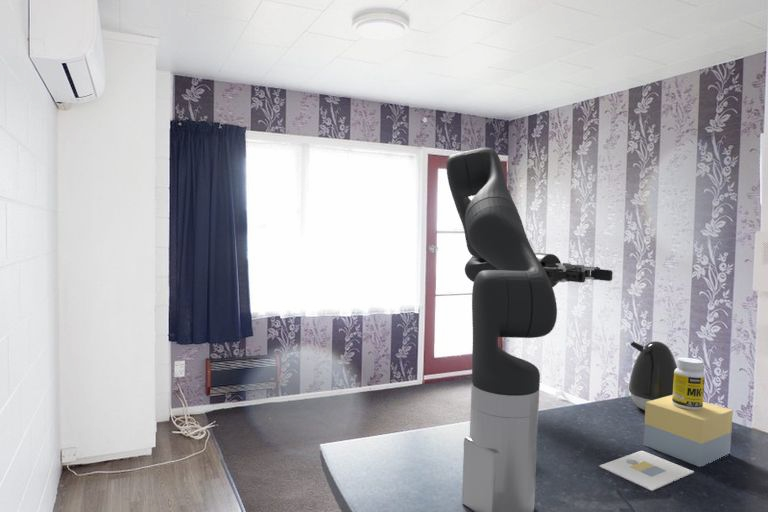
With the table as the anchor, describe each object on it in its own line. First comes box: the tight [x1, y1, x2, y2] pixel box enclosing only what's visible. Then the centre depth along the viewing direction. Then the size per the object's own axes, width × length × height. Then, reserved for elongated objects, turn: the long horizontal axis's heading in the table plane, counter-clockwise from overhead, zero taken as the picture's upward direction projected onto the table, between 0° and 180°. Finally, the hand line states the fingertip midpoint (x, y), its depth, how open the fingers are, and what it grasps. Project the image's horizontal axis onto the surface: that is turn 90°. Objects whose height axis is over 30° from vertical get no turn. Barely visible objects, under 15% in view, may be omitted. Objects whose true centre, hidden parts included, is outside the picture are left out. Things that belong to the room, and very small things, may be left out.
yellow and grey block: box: [643, 395, 734, 468], centre depth 93 cm, size 10×10×8 cm
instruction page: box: [599, 450, 695, 492], centre depth 85 cm, size 12×9×1 cm
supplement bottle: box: [672, 357, 706, 410], centre depth 92 cm, size 5×5×8 cm
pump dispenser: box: [628, 341, 678, 411], centre depth 113 cm, size 10×10×15 cm
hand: (598, 276), depth 102 cm, fingers open, 8 cm apart
